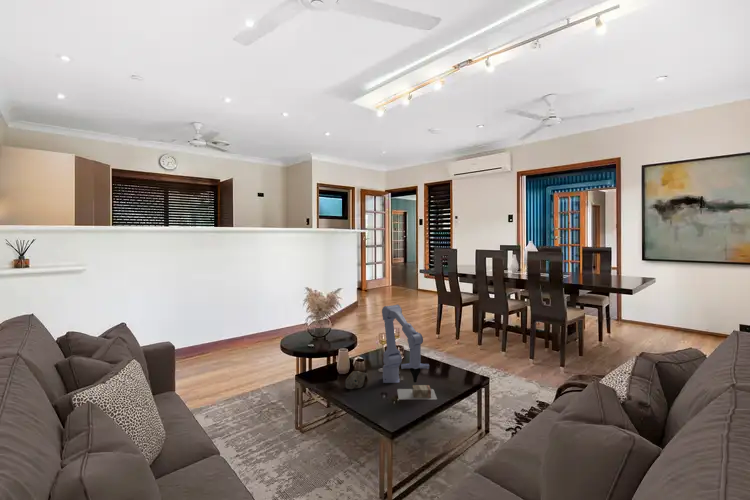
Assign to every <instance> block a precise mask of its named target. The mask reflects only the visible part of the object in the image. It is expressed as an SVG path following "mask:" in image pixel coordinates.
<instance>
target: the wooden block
mask: <svg viewBox="0 0 750 500" xmlns="http://www.w3.org/2000/svg"><path fill="white" fill-rule="evenodd" d="M412 389H413V397H414V398H431V389H432V388H431V387H430V384H412Z"/></svg>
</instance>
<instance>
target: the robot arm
mask: <svg viewBox="0 0 750 500" xmlns="http://www.w3.org/2000/svg"><path fill="white" fill-rule="evenodd" d="M381 315H382V321H383V322H384V323H383V324H384V331H385V339H386V350H385V351H384V352H383V359H382V360H383V364H384V365H382V384H384V383H385V384H399V383H400V382H401V381H400V380H401V379H400V376H399V375H400V371H399V370H400V369H399V368H400V367H401V370H403V369H409V371H410V373H411V376H412V381H413V383H417V382H418V381H417V380H418V378H419V374H420V373H421V369H427V370H429V369H430V364H429V363H421V362H422V361H421V360H422V359H421V357H422V356H421V355H422V354H421V351H422V349H421V347H422V344H423V343H424V338H423V335H422V334H421V333H420V332H418V331H416V330H415V328H414V327H413V325H412V324H411V323H410V322H409V323H408V322H407V320H406V318H405V316H404V314H403V309H402V307H401V305H399V304H394V305H393V304H392V305H384V306H383V307H382V310H381ZM395 320H396V321H397V322H398V323H399V325H400V326H401V331H403V333H404V335H405V336H406V339H407V343H408V349H409V362H408V363H402V361H403V357H402V354H401V351H400V350H399V349H398V348H397V343H396V336H395V335H396V333H395V326H394V324H395V323H394V321H395Z"/></svg>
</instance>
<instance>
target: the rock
mask: <svg viewBox="0 0 750 500" xmlns="http://www.w3.org/2000/svg"><path fill="white" fill-rule="evenodd" d="M366 376H367V373H366V372H362V371H359V370H352V372H351V373H350V374H349V375H348V376H347V378H346V379H345V388H346V389H348V390H353V389H360V388H362V387H363V386H364V384H365V379H366Z"/></svg>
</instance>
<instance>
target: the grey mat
mask: <svg viewBox="0 0 750 500" xmlns="http://www.w3.org/2000/svg"><path fill="white" fill-rule="evenodd" d="M430 389H431V398H414V397H413V388H397V389H396V390H397V392H396V393H397V396H398V398H397V399H398V400H403V401H404V400H406V401H407V400H410V401H411V400H413V401H415V400H419V401H420V400H423V401H424V400H426V401H427V400H429V401H430V400H437V401H438V398H437V394H436V393H435V388H434V389H433V388H430Z"/></svg>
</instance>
